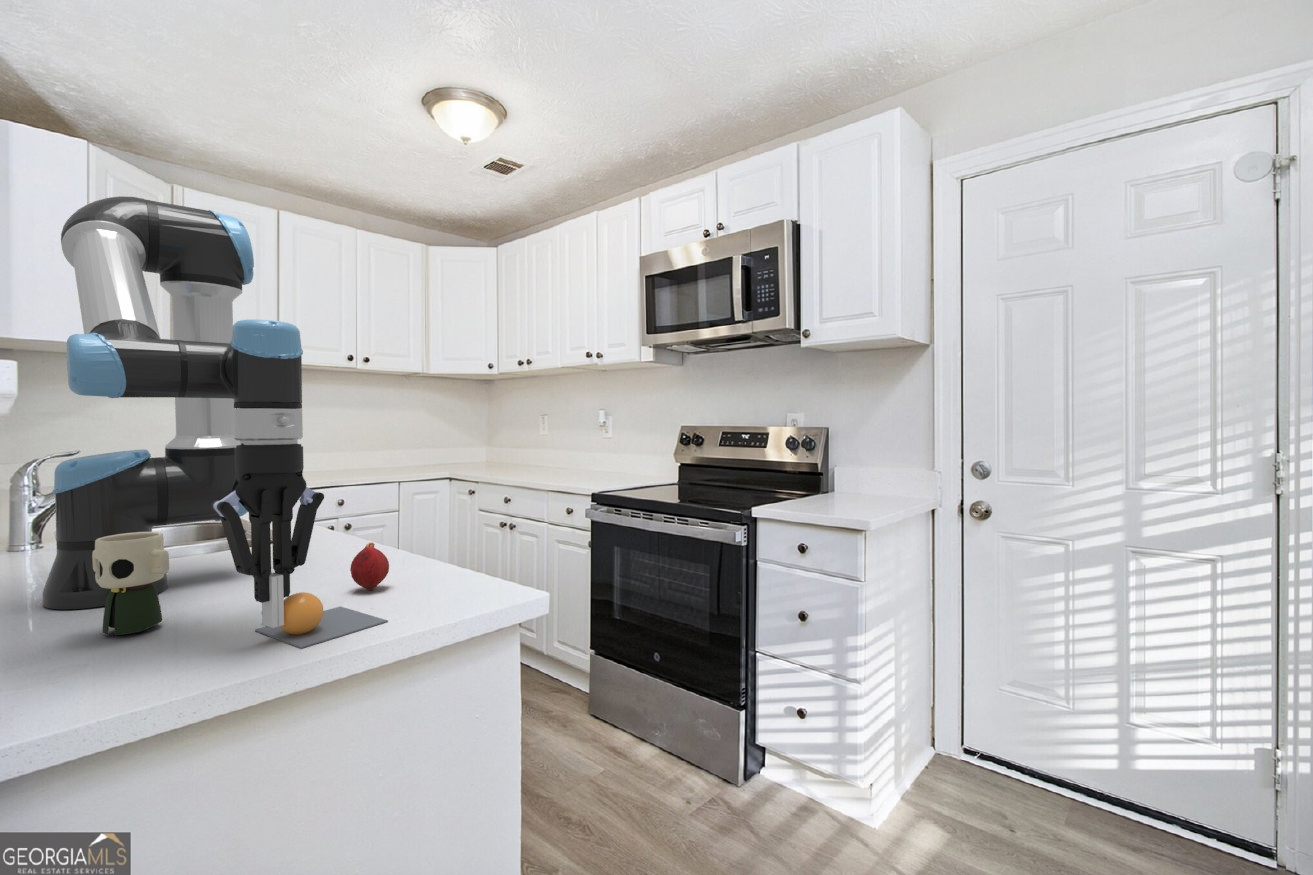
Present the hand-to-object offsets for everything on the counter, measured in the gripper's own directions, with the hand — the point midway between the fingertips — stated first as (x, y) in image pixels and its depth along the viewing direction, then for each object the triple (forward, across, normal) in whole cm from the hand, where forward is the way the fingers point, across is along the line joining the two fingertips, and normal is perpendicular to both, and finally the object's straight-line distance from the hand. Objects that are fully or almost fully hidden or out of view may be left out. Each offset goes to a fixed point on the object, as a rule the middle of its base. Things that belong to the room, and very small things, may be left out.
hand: (273, 624), depth 81 cm
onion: (+2, +20, +12) cm, 24 cm away
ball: (-1, +3, 0) cm, 3 cm away
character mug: (+2, -8, +20) cm, 22 cm away
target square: (+2, +7, 0) cm, 7 cm away
